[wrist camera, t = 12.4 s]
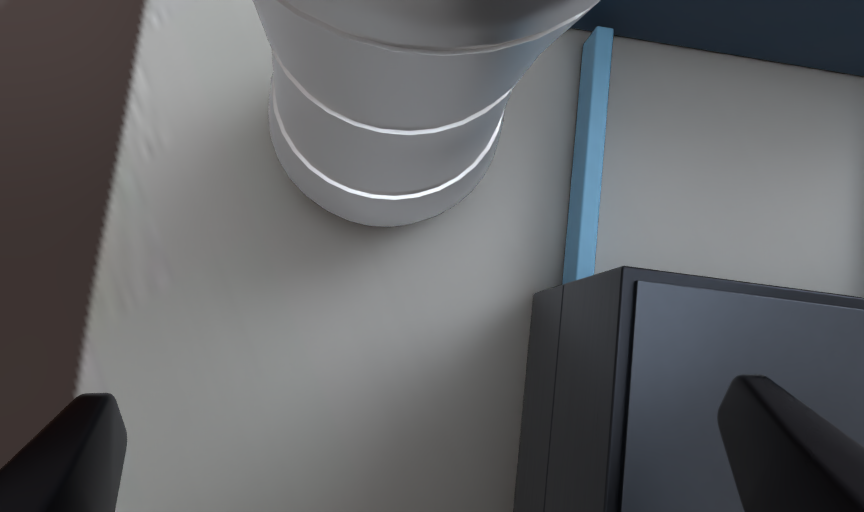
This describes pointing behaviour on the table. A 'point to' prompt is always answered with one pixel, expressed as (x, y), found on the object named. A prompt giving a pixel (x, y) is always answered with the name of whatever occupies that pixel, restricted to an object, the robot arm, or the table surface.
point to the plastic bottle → (398, 95)
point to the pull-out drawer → (703, 29)
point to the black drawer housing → (669, 384)
